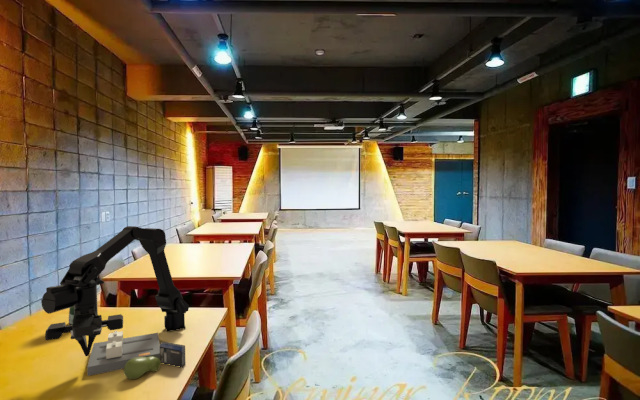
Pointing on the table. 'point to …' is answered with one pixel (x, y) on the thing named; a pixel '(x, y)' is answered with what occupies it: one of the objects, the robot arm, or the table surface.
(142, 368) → the pear
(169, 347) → the mini dv tape
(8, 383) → the table surface
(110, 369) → the switch panel
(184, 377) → the table surface
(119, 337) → the tab
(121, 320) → the robot arm
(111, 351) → the tab
